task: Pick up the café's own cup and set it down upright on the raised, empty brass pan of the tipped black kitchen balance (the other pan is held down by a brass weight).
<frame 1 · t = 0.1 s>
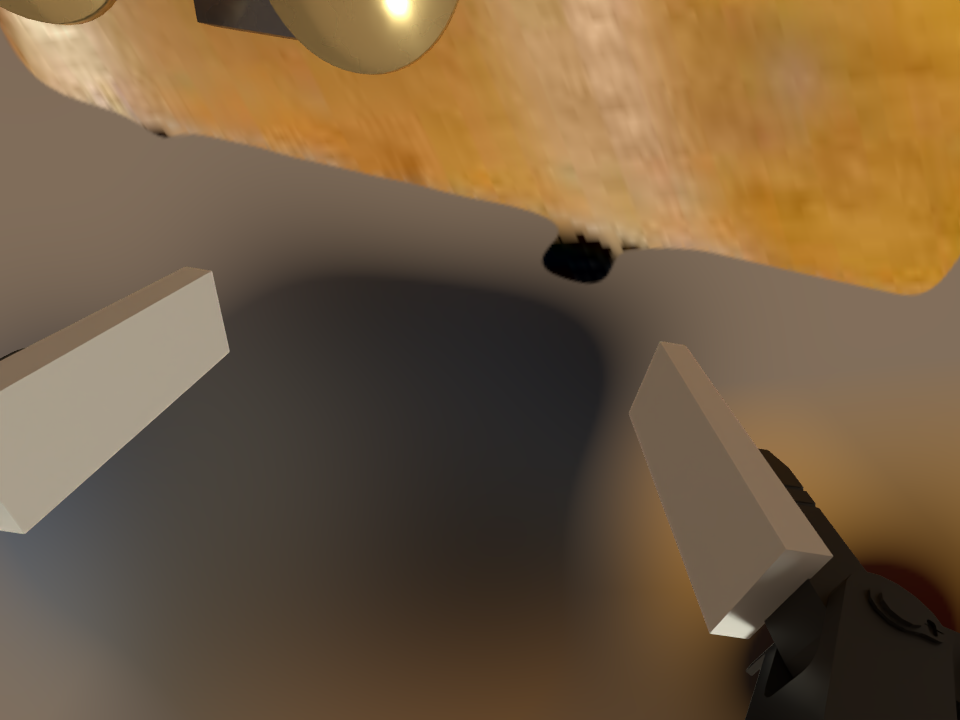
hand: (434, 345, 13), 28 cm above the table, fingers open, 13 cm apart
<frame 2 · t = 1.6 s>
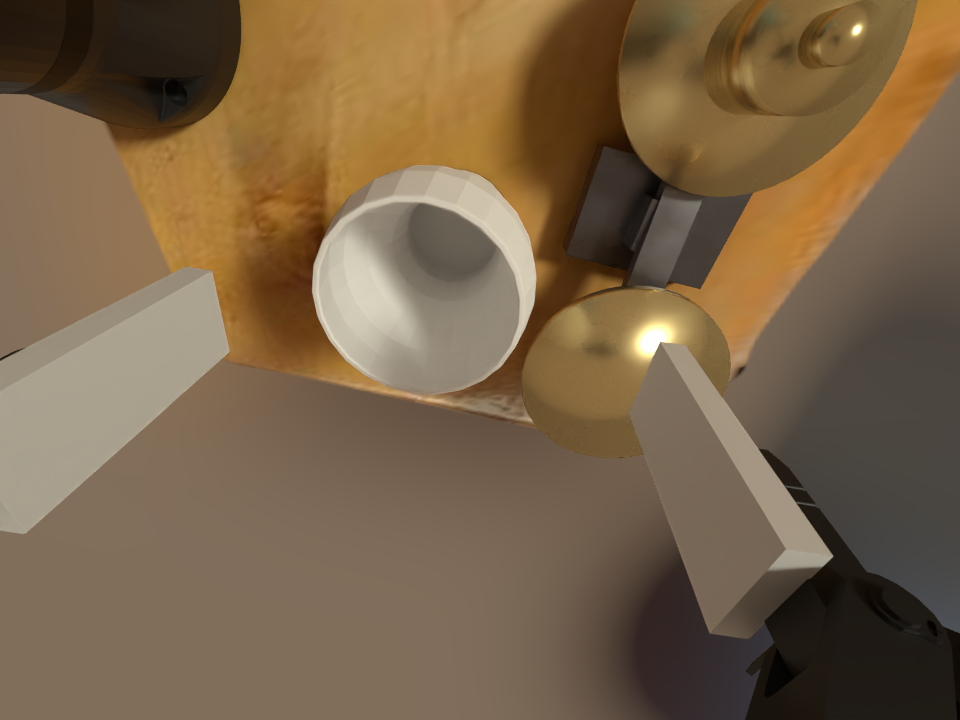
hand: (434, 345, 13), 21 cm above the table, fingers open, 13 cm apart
balance: (646, 215, 30), on the table
cup: (458, 225, 31), on the table
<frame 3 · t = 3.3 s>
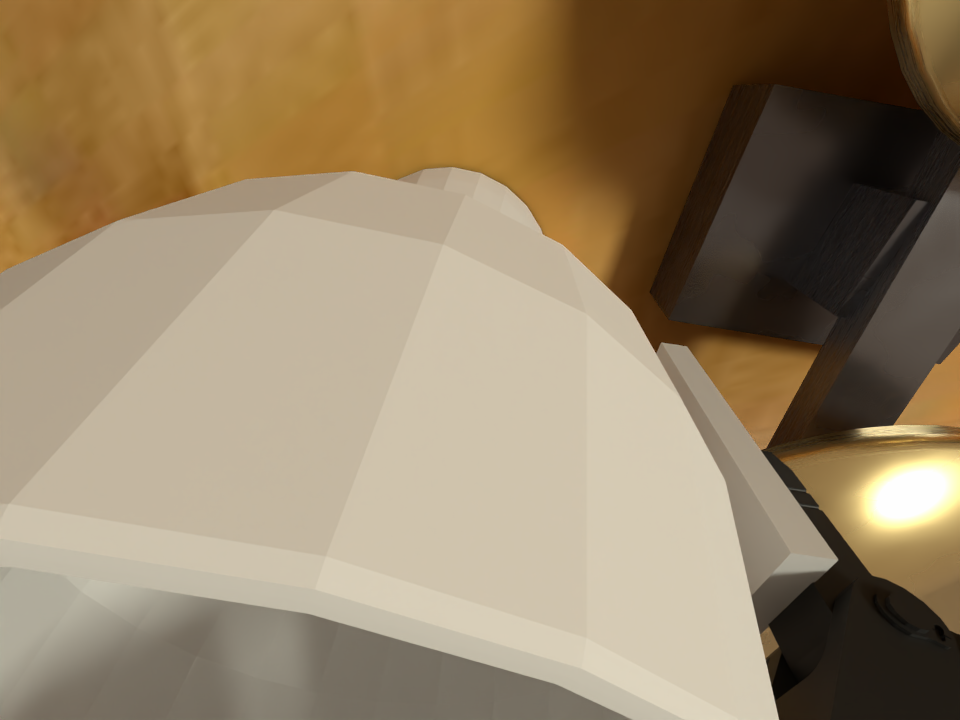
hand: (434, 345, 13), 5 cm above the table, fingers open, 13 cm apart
balance: (822, 225, 15), on the table
cup: (451, 269, 17), on the table
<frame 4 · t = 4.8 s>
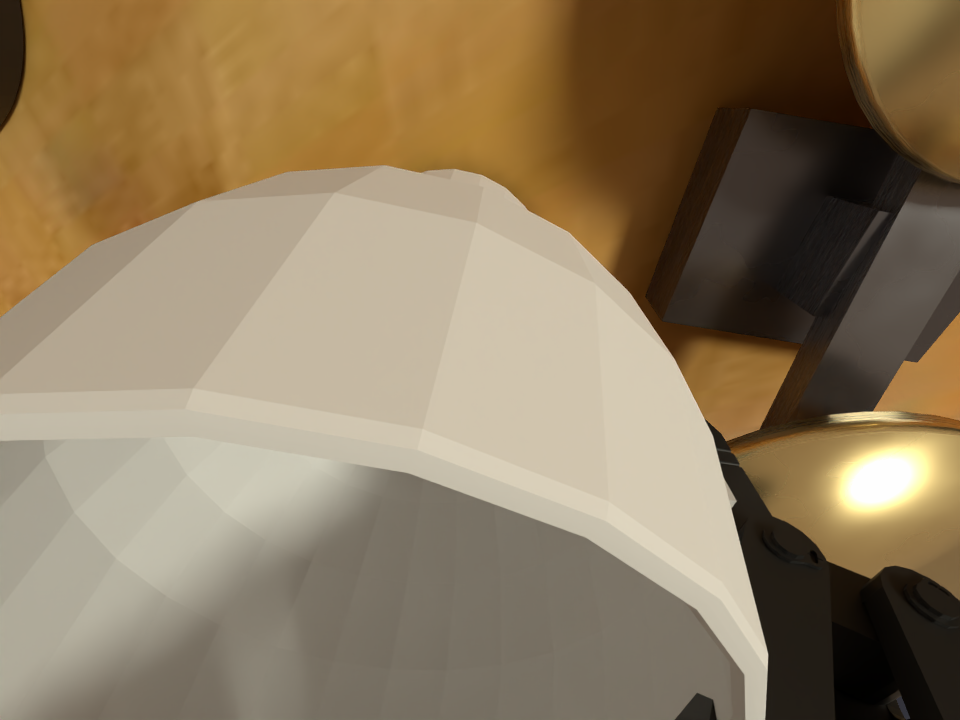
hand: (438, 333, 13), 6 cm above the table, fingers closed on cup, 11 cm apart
balance: (803, 234, 16), on the table
cup: (452, 267, 18), on the table, touching gripper
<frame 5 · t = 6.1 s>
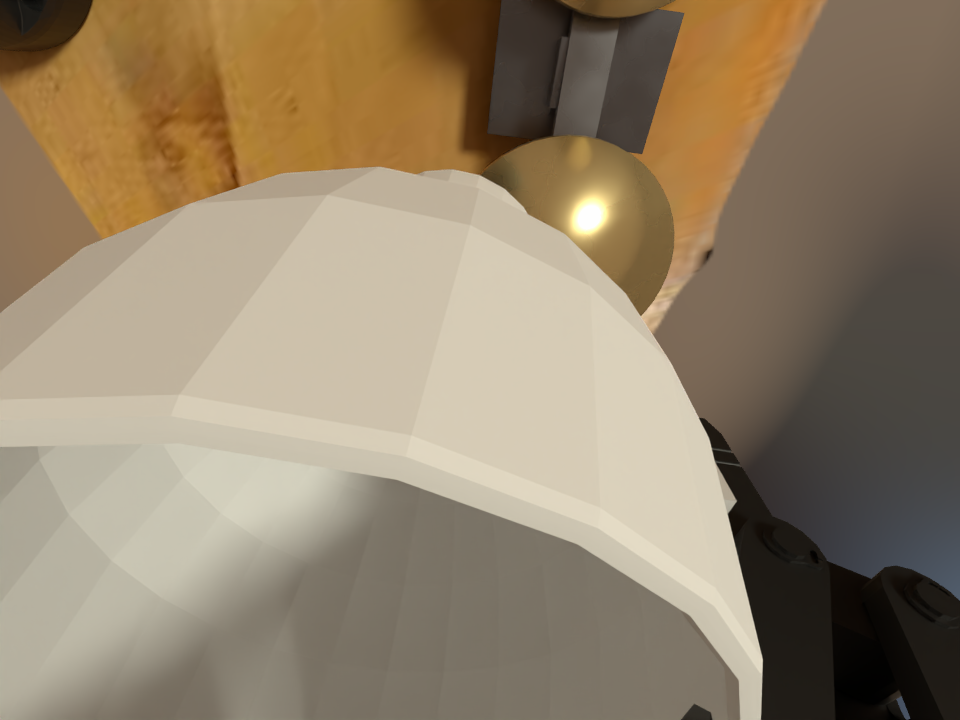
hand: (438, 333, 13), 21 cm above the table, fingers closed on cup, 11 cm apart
balance: (572, 78, 26), on the table
cup: (450, 268, 17), point 16 cm above the table, touching gripper
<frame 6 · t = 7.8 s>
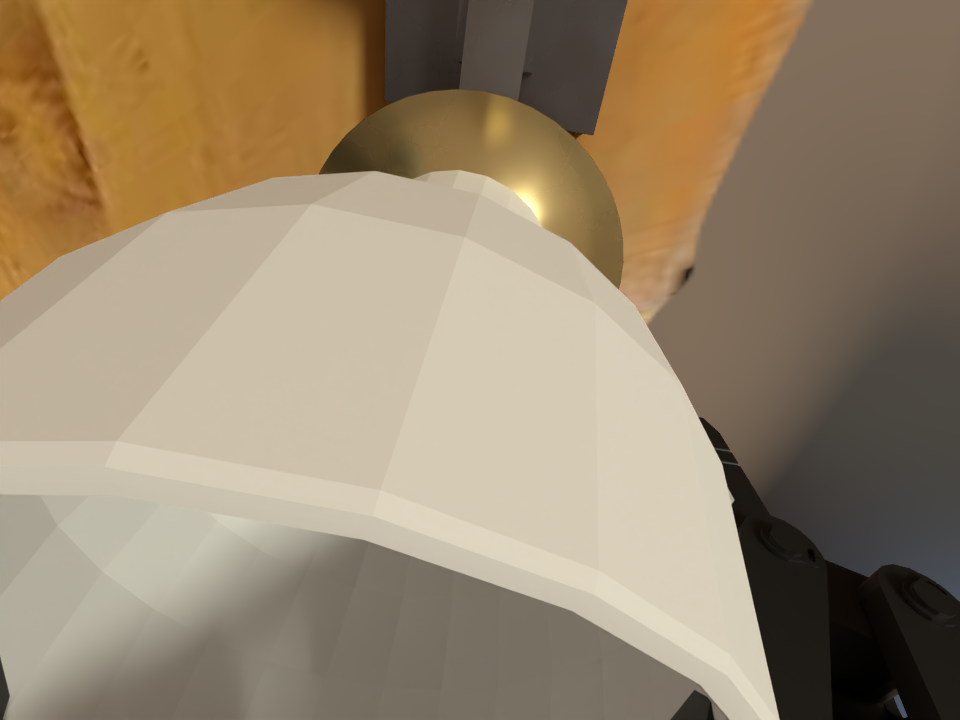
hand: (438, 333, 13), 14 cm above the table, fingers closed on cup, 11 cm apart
balance: (502, 31, 20), on the table
cup: (457, 270, 17), point 9 cm above the table, touching balance, gripper
when the fingers open (14 cm above the table, at t = 8.2 s): cup stays where it is, resting on balance.
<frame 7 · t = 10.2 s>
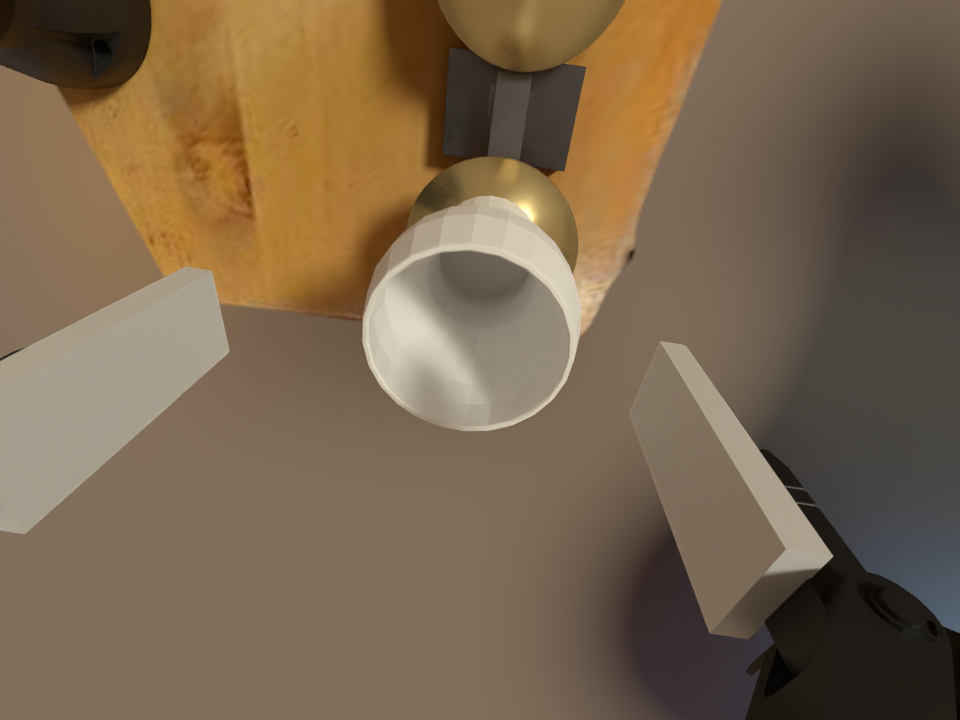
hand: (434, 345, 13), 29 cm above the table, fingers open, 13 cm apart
balance: (510, 112, 34), on the table
cup: (487, 249, 31), point 9 cm above the table, touching balance
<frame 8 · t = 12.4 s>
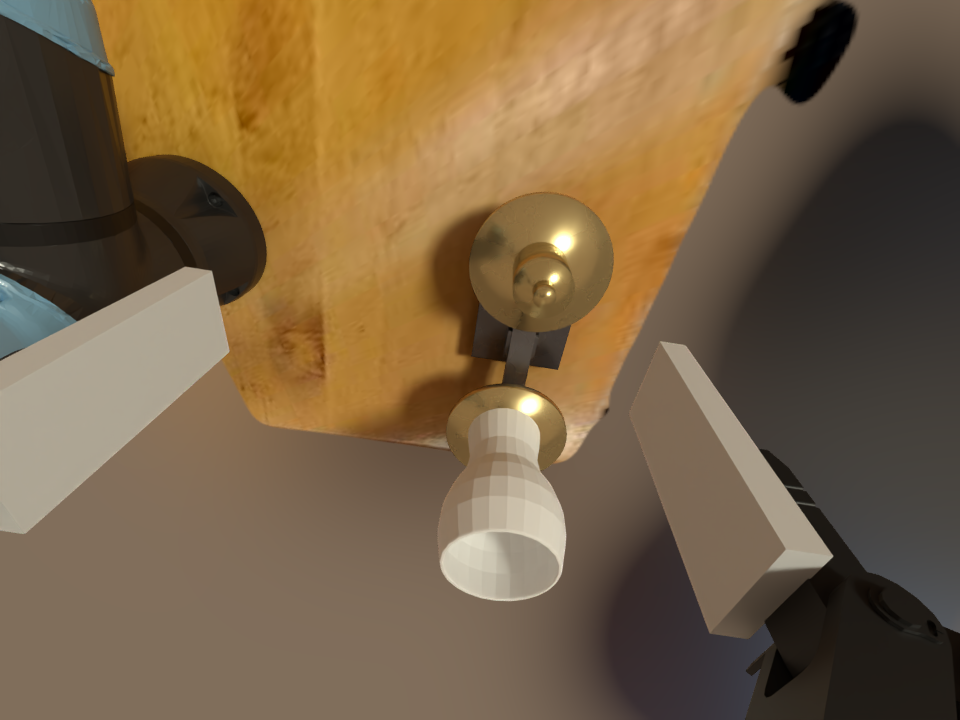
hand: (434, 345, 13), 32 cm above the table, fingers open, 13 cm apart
balance: (520, 326, 47), on the table
cup: (504, 434, 45), point 9 cm above the table, touching balance
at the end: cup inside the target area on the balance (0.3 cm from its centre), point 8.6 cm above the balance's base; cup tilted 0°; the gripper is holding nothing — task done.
